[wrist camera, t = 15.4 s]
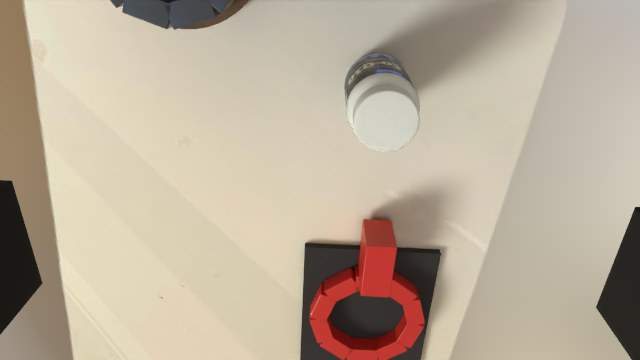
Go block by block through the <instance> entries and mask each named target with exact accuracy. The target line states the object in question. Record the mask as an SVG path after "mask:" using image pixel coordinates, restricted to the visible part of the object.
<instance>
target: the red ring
mask: <svg viewBox="0 0 640 360" xmlns="http://www.w3.org/2000/svg"><path fill="white" fill-rule="evenodd" d="M396 252H397V245H396V240H395V236H394V231H393V226H392V222H391V221H386V220H368V219H364V220H363V227H362V236H361V245H360V255H359V264H358V266H355V271H354V270H353V269H352V267H350V268H348V269H346V270H344V271H342V272H340V273H338V274H336V275H334V276H332V277H330V278H328V279H326V280H325V281H324V284H323V283H321V285H320V287H319V289H318V291H317V293H316V295H315V297H314V299H313V301H312V303H311V305H310V323H311V326H312V329H313V332H314V334H315V337H316V340H317V343H320V346H321V347H323V348H324V349H326V350H327V351H329V352H331V353H332V354H334V355H336V356H337V357H339V358H341V359H342V360H344V359H345V358H346V357H347V360H377V359H379V360H387V359H389V358H392V357H394V356H396V355H398V354H401V353H403V352H405V351H407V347H409V348H411V347H412V345H413V344H414V342H415V340H416V339H417V337H418V336H419V334H420V333H421V331H422V330H423V328H424V323H425V320H424V316H423V311H422V307H421V302H420V298H419V294H418V290H417V288H415V285H414V284H412V283H411V282H410V281H408V280H407V279H405V278H404V277H403V276H401V275H400V274H398V273H397V272H395V271H394V265H395V258H396ZM357 291H360V293H361V296H373V297H391V298H393V299H394V300H396V301H397V302H399V303H400V304H402V305H403V308H404V313H405V314H404V315H403V317H402V318H401V320H400V322H399V323H398V325H397V327H396V328H395V330H392V331H390V332H388V333H386V334H384V335H381V336H379V337H377V338H375V339H370V338H352V337H350V336H348V335H346V334H345V333H343V332H342V331H340V330H339V329H337V328H335V327H334V326H333V325H332V322H331V319H330V316H329V315H330V313H331V311H332V309H333V307H334V305H335V303H336V302H337V301H339V300H341V299H343V298H345V297H347V296H349V295H351V294H353V293H355V292H357Z"/></svg>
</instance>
